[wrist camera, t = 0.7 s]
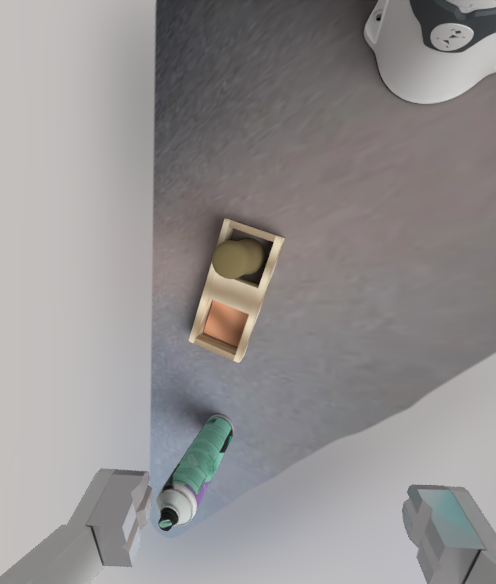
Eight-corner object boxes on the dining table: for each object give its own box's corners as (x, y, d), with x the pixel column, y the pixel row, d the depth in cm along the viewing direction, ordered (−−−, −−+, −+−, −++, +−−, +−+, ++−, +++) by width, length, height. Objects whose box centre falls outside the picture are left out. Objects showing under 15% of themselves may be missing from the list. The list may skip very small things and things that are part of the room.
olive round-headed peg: (226, 268, 50) (200, 275, 39) (236, 233, 48) (211, 231, 38) (260, 279, 49) (242, 289, 38) (270, 244, 47) (254, 244, 37)
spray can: (201, 427, 56) (137, 521, 37) (217, 408, 55) (158, 497, 36) (223, 446, 56) (169, 552, 37) (239, 428, 54) (192, 529, 35)
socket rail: (230, 219, 48) (224, 218, 45) (285, 238, 46) (282, 237, 44) (195, 335, 53) (188, 341, 50) (243, 356, 52) (238, 363, 49)
